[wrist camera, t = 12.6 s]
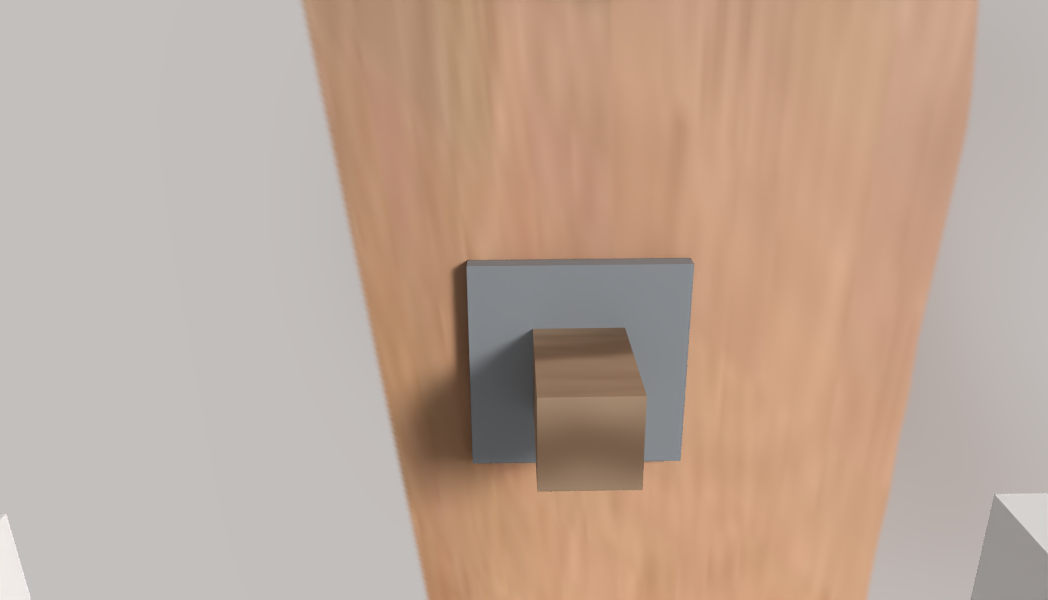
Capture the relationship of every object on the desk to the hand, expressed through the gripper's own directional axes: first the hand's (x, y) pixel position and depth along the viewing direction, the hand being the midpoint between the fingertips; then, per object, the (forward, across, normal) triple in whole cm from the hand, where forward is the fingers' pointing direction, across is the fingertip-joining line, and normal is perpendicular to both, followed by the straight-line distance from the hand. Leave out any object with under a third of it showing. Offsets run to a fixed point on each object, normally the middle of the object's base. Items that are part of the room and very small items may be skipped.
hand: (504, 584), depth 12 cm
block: (+33, +4, -13) cm, 36 cm away
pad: (+34, +4, -13) cm, 37 cm away
